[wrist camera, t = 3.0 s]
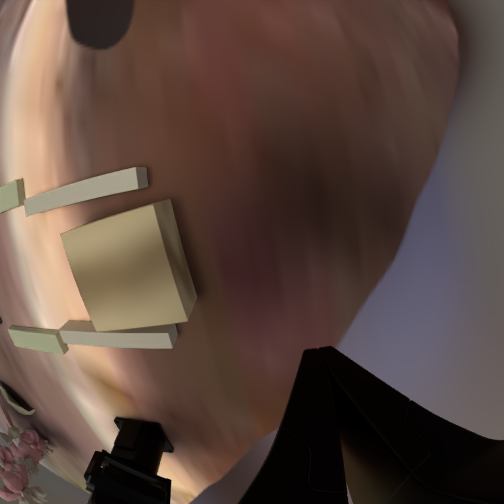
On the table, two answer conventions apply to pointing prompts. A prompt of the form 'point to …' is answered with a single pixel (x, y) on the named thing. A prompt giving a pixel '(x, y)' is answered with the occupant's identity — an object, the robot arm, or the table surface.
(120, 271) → the maple block
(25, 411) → the flower
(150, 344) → the twin beige slats
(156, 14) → the table surface
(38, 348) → the bars
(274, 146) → the table surface
